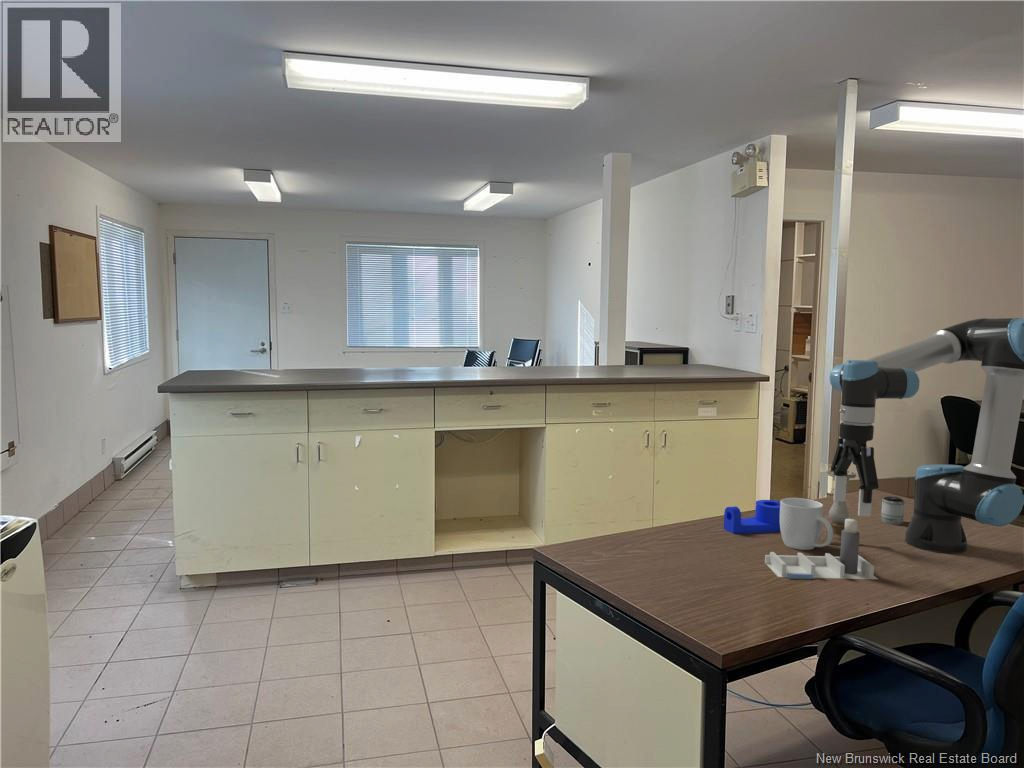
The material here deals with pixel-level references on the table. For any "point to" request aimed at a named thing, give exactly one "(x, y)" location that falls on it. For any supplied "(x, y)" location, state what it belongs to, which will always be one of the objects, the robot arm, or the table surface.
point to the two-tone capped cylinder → (850, 546)
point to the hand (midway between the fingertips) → (851, 508)
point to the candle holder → (838, 514)
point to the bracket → (754, 518)
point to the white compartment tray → (816, 567)
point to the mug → (803, 523)
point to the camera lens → (892, 510)
